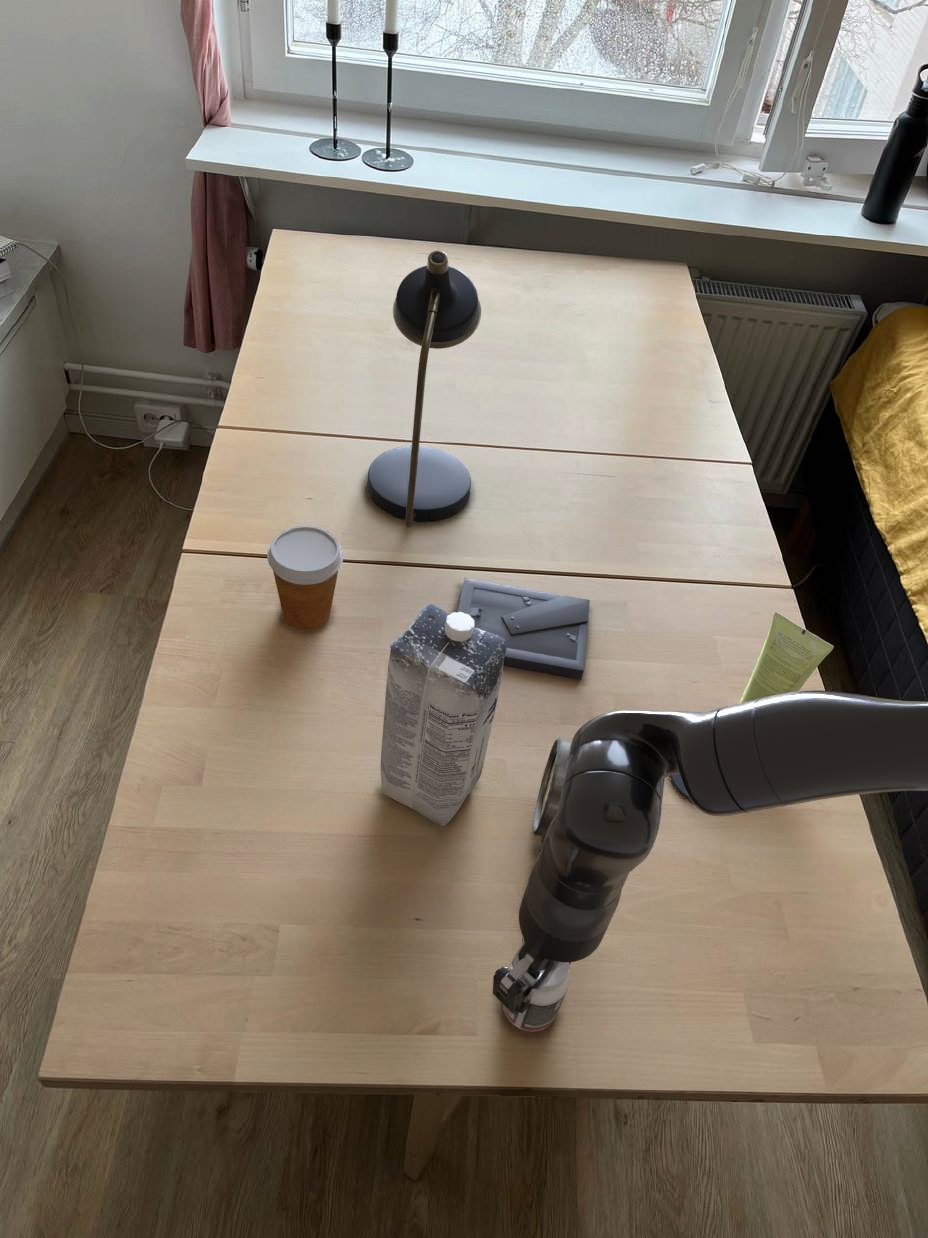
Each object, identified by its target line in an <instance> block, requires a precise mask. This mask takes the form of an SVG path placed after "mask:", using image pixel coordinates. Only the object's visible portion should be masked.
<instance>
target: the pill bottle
mask: <svg viewBox="0 0 928 1238" xmlns="http://www.w3.org/2000/svg"><path fill="white" fill-rule="evenodd" d="M512 969H513V967H512V964H511V965H510V968H509V970H510V971H511V970H512ZM569 970H570V965H569V962H567V963H566V962H564V963H563V964H562V965H561V966H560V967H558V968H557V969H556V970H555V971H554V973H553V974H552V976H551V977H550V979H549V980H548V982H547V983H546V984H545V985H544V986H542V987H541V988H540V989H539V990H535V992H534V993H533V995H532V998H531V1000H530V1003H529V1005H528V1008H527V1009H526V1010H525V1011H524V1012H523V1013H519V1012H517V1013H515V1012H514V1013H511V1012H510V1011H509V1009H507V1008H506V1007H505V1006H504V1005H503V1004H502V1003H501V1005H502V1010H503V1012H504V1015H505V1017H506V1018H507V1020H508V1021H509V1022H510V1024H512V1025H513V1026H514V1027H516V1028H517V1029H519V1030H521V1031H524V1032H531V1033H532V1032H540V1031H542V1030H543V1031H544V1030H545V1029H547V1028H548V1027H550V1026H551V1025H552V1024H553V1023H554V1021H555V1020H556V1018H557V1016H558V1013H559V1011H560V1010H561V1009H560V1008H561V1006H562V1003H563V1001H564V999H565V997H566V994H567V992H568V989H569V985H570V979H571V978H570V977H571V975H570V971H569ZM544 971H545V970H544ZM544 971H540V972H541V973H542V974H543V972H544ZM522 981H523V982H524V983H525V984H526V985H527V986H529V982H528V981H527V980H526V979H525V978H524V977H523V979H522Z"/></svg>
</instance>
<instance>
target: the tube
mask: <svg viewBox="0 0 928 1238" xmlns="http://www.w3.org/2000/svg"><path fill="white" fill-rule="evenodd" d="M834 647H835V646H834V645H833V644H831V643H829V642H827V641H825V640H824V639H822V638H820V636H818V635H816V634H814V633H813V632H810V631H809V630H808V629H806V628H804V627H802V626H801V625H799V624H798V623H796V622H794V621H793V620H791V619H789V618H788V617H786V616H784V615H783V614H781V613H780V612H778V611H775V612H774V613H773V615H772V619H771V624H770V626H769V629H768V633H767V635H766V638H765V641H764V644H763V646H762V649H761V652H760V654H759V656H758V659H757V662H756V664H755V666H754V669H753V671H752V674H751V676H750V678H749V681H748V682H747V685H746V687H745V689H744V691H743V693H742V696H741V698H740V700H739V702H738V704H739V703H743V702H748V701H752V700H756V699H760V698H764V697H768V696H772V695H777V694H783V693H788V692H797V691H801V689H802V687H803V686H804V684H805V683H806V682H807V681H808V679H809V678H810V677H811V675H812V674H813V673H814V672H815V670H816V669H817V668H818V666H819V665H820V664H821V663H822V661H824V659H825V658H826V657H827V656H828V655H829V654H831V652H832V651H833V649H834Z"/></svg>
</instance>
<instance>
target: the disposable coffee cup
mask: <svg viewBox="0 0 928 1238" xmlns="http://www.w3.org/2000/svg"><path fill="white" fill-rule="evenodd" d="M266 556H267V563H268V565H269V567H270V568H271V570H272V572H273V577H274V581H275V586H276V590H277V595H278V599H279V603H280V608H281V612H282V618H283V620H284V622H285V623H286V624H287V625H289V626H290V627H291V628H293V629H296V630H299V631H313V630H317V629H320V628H321V627H323V626H324V625H325V624H327V623H328V621H329V620H330V617H331V613H332V612H331V611H332V607H333V600H334V595H335V590H336V586H337V580H338V576H339V575H338V574H339V570H340V569H341V566H342V564H343V562H344V550H343V548H342V546H341V545H340V543H339V540H338V539H337V537H336V536H335V535H334V534H333V533H332V532H330V531H329V530H326V528H322V527H320V526H314V525H308V524H306V525H305V524H304V525H303V524H302V525H295V526H292V527H288V528H286V529H283V530H282V531H280V532H279V533H277V535H276V536H275V537H274V538H273V539H272V541H271V544H270V545H269V547H268V550H267V554H266Z"/></svg>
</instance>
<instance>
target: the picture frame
mask: <svg viewBox="0 0 928 1238" xmlns="http://www.w3.org/2000/svg"><path fill="white" fill-rule="evenodd" d="M590 603H591V601H590V599H586V598H582V597H576V596H571V595H565V594H564V595H562V594H557V593H552V592H551V593H550V592H545V591H540V590H535V589H530V588H523V587H517V586H512V585H506V584H500V583H494V582H489V581H484V580H479V579H473V578H466V577H464V579H463V584H462V588H461V593H460V598H459V603H458V608H457V611H456V613H458V612H463V613H464V614H468V615H470V616H471V618H472V619H474V627H475V628H478V629H480V630H483V631H486V632H489V633H492V634H495V635H498V636H500V637H502V638H503V639H505V640H506V653H505V657H504V662H503V667H507V668H512V669H517V670H521V671H522V670H523V671H528V672H534V673H540V674H545V675H551V676H556V677H562V678H567V679H573V680H578V681H582V679H583V676H584V672H585V664H586V663H585V661H586V649H587V640H588V639H587V638H588V626H589V615H590Z"/></svg>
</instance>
